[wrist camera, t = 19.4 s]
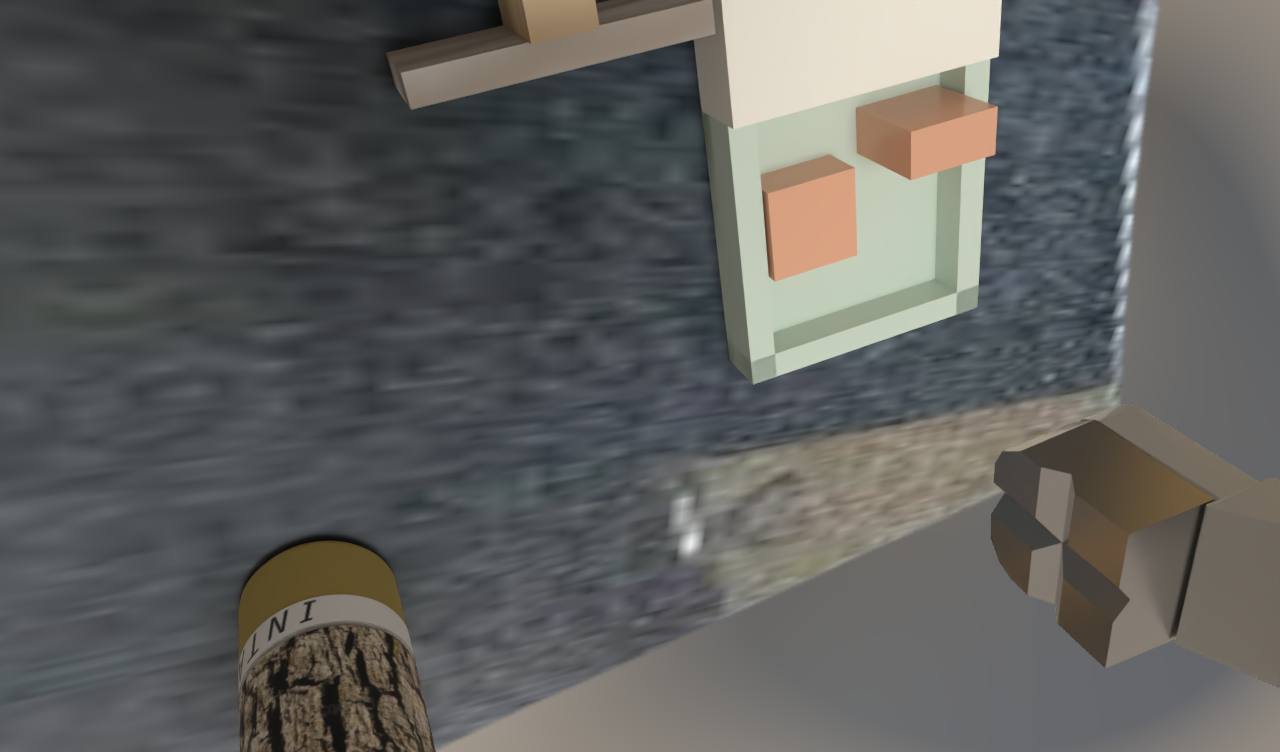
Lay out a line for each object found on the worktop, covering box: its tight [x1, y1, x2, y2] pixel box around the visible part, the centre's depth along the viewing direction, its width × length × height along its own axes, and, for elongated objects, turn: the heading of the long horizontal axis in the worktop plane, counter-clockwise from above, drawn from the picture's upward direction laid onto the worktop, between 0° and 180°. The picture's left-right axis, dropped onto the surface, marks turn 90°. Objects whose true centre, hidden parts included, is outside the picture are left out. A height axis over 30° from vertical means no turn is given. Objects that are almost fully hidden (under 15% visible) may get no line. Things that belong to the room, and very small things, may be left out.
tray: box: [702, 59, 990, 384], centre depth 42 cm, size 12×12×2 cm
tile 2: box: [856, 85, 998, 180], centre depth 40 cm, size 4×4×2 cm
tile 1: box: [761, 155, 857, 282], centre depth 41 cm, size 4×4×2 cm
